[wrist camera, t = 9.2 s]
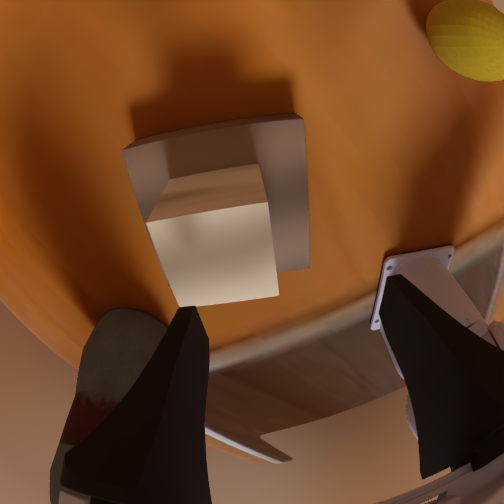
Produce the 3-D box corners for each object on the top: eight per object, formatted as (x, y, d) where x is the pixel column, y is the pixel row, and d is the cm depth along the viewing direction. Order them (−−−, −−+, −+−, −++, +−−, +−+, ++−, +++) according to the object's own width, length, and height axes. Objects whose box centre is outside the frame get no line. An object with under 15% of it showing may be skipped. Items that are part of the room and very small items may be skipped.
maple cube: (269, 239, 18) (279, 295, 14) (191, 251, 18) (180, 308, 14) (258, 163, 15) (267, 201, 11) (169, 179, 15) (145, 222, 11)
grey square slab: (301, 243, 22) (309, 267, 19) (174, 260, 22) (168, 286, 20) (292, 111, 16) (303, 118, 14) (138, 138, 16) (122, 150, 14)
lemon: (395, -1, 11) (476, -18, 4) (453, 9, 10) (533, 10, 3) (412, 72, 14) (498, 89, 7) (466, 75, 13) (546, 98, 7)
